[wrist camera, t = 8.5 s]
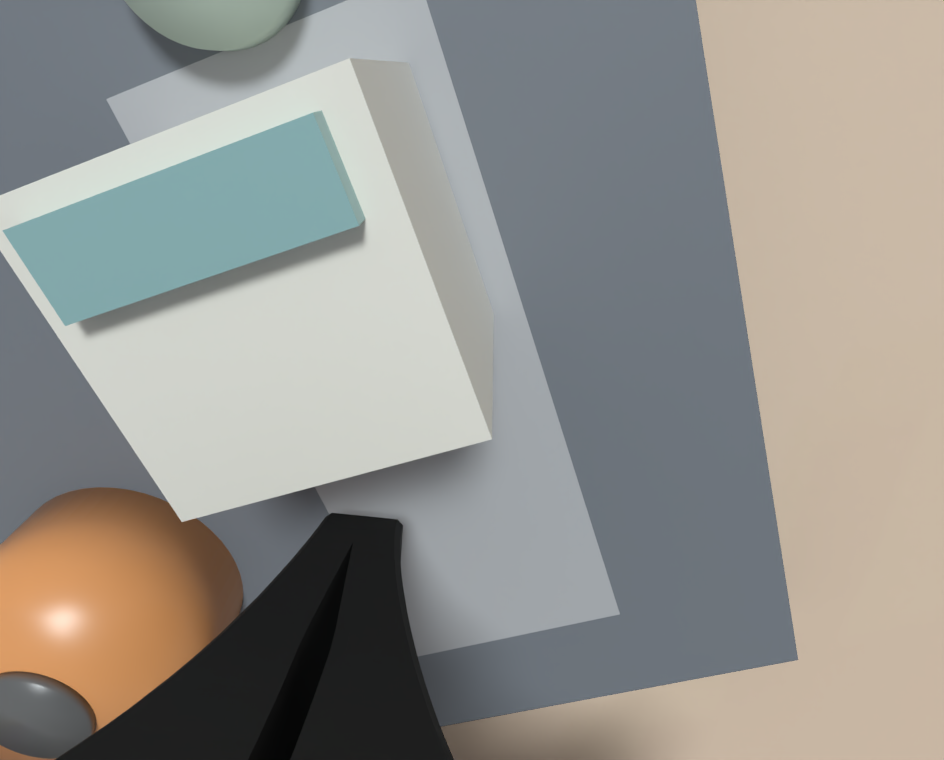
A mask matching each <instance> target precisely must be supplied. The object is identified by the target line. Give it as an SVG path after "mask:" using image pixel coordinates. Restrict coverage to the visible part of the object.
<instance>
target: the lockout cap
mask: <svg viewBox="0 0 944 760" xmlns="http://www.w3.org/2000/svg"><path fill="white" fill-rule="evenodd" d="M242 601H243V584H242V580H241V575H240V572H239V570H238V567H237V565H236V562H235V561H234V559H233V557H232V555H231V554H230V552H229V550H228V549H227V548H226V546H225V545H224V544H223V542H222V541H221V540H220V539H219V538H218V537H217V536H216V535H215V534H214V533H213V532H212V531H211V530H210V529H209V528H208V527H207V526H205V525H204V524H203V523H202V522H201V521H199V520H198V519H196V518H195V519H191V520H188V521H184V522H181V520H180V519H179V517H178V516H177V514H176V513H175V511H174V510H173V508H172V507H171V505H170V504H169V502H166V501H164V500H162V499H160V498H157V497H154V496H151V495H148V494H145V493H141V492H136V491H132V490H127V489H119V488H107V487H95V488H84V489H79V490H74V491H70V492H67V493H64V494H61V495H59V496H56V497H54V498H53V499H51V500H49V501H47V502H46V503H44V504H43V505H42V506H41V507H39V508H38V509H37V510H36V511H35V512H34V513H33V514H32V515H31V516H30V517H29V518H28V519H27V520H26V521H25V522H23V523H22V524H21V525H20V526H19V527H18V528H17V529H16V530H15V531H14V532H13V533H12V534H11V535H10V536H9V537H8V538H7V539H6V540H5V541H4V542H3V543H2V544H1V545H0V760H55V759H56V758H58V757H59V756H61V755H62V754H64V753H65V752H67V751H68V750H70V749H71V748H73V747H74V746H76V745H77V744H79V743H80V742H82V741H83V740H85V739H86V738H88V737H89V736H91V735H92V734H94V733H95V732H97V731H98V730H100V729H101V728H103V727H104V726H105V725H107V724H108V723H110V722H111V721H112V720H114V719H115V718H117V717H118V716H119V715H121V714H122V713H123V712H125V711H126V710H128V709H129V708H130V707H132V706H133V705H134V704H136V703H137V702H138V701H139V700H141V699H142V698H143V697H145V696H146V695H147V694H148V693H150V692H151V691H152V690H154V689H155V688H156V687H157V686H159V685H160V684H161V683H163V682H164V681H165V680H166V679H168V678H169V677H170V676H172V675H173V674H174V673H175V672H176V671H178V670H179V669H180V668H181V667H182V666H184V665H185V664H186V663H187V662H188V661H189V660H191V659H192V658H193V657H194V656H195V655H197V654H198V653H199V652H200V651H201V650H202V649H203V648H204V647H206V646H207V645H208V644H209V643H210V642H211V641H212V640H213V639H214V638H216V637H217V636H218V635H219V634H220V633H221V632H222V631H223V630H224V629H225V628H226V627H227V626H228V625H229V624H230V623H231V622H232V621H233V620H234V619H235V618H236V617H237V616H238V615H239V613H240V610H241V607H242Z"/></svg>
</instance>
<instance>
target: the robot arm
mask: <svg viewBox="0 0 944 760" xmlns="http://www.w3.org/2000/svg"><path fill="white" fill-rule="evenodd" d="M402 533H403V525H402V524H401V522H400V521H399V520H398V519H390V518H380V517H370V516H360V515H350V514H340V513H330V514H329V515H328V516H326V517H325V518H324V520H323V521H322V522H321V524H320V525H319V526H318V528H317V529H316V530H315V531H314V533H313V534H312V535H311V537H310V538H309V539H308V540H307V542H306V543H305V544H304V545H303V546H302V548H301V549H300V550H299V551H298V552H297V553H296V555H295V556H294V557H293V558H292V559H291V561H290V562H289V563H288V564H287V565H286V566H285V567H284V568H283V570H282V571H281V572H280V573H279V574H278V575H277V576H276V577H275V578H274V579H273V580H272V582H271V583H270V584H269V585H268V586H267V587H266V588H265V589H264V590H263V591H262V592H261V594H260V595H259V596H258V597H257V598H256V599H255V600H254V601H253V602H252V603H251V604H250V605H249V606H248V607H247V608H246V609H245V610H244V611H243V612H242V613H240V614H239V615H238V616H237V617H236V618H235V619H234V620H233V621H232V622H231V623H230V624H229V625H228V626H227V627H226V628H225V629H224V630H223V631H222V632H221V633H220V634H219V635H218V636H217V637H216V638H214V639H213V640H212V641H211V642H210V643H209V644H208V645H207V646H206V647H204V648H203V649H202V650H201V651H200V652H199V653H198V654H197V655H195V656H194V657H193V658H192V659H191V660H189V661H188V662H187V663H186V664H185V665H184V666H182V667H181V668H180V669H179V670H178V671H176V672H175V673H174V674H173V675H172V676H170V677H169V678H168V679H166V680H165V681H164V682H163V683H161V684H160V685H159V686H157V687H156V688H155V689H154V690H152V691H151V692H150V693H148V694H147V695H146V696H145V697H143V698H142V699H141V700H139V701H138V702H137V703H136V704H134V705H133V706H132V707H130V708H129V709H128V710H126V711H125V712H123V713H122V714H121V715H119V716H118V717H117V718H115V719H114V720H112V721H111V722H110V723H108V724H107V725H105V726H104V727H103V728H101V729H100V730H98V731H97V732H95V733H94V734H92V735H91V736H89V737H88V738H86V739H85V740H83V741H82V742H80V743H79V744H77V745H76V746H74V747H73V748H71V749H70V750H68V751H67V752H65V753H64V754H62V755H61V756H59V757H58V758H56V759H55V760H454V759H453V757H452V754H451V752H450V750H449V747H448V745H447V742H446V740H445V738H444V735H443V733H442V730H441V727H440V725H439V722H438V719H437V716H436V713H435V711H434V708H433V705H432V702H431V699H430V696H429V693H428V690H427V687H426V684H425V681H424V677H423V674H422V670H421V667H420V663H419V660H418V656H417V652H416V648H415V644H414V640H413V636H412V632H411V628H410V623H409V618H408V613H407V607H406V601H405V595H404V589H403V582H402V574H401V550H402Z"/></svg>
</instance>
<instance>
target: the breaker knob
mask: <svg viewBox="0 0 944 760" xmlns="http://www.w3.org/2000/svg"><path fill="white" fill-rule="evenodd" d="M0 251H1V253H2V254H3V256H4V257H5V259H6V260H7V262H8V263H9V265H10V266H11V268H12V269H13V271H14V272H15V274H16V275H17V276H18V278H19V279H20V281H21V282H22V284H23V285H24V287H25V288H26V290H27V291H28V293H29V294H30V296H31V297H32V299H33V300H34V302H35V303H36V305H37V306H38V308H39V309H40V311H41V312H42V314H43V315H44V317H45V318H46V320H47V321H48V323H49V324H50V326H51V327H52V329H53V330H54V332H55V333H56V335H57V336H58V338H59V339H60V341H61V342H62V344H63V345H64V347H65V348H66V350H67V351H68V353H69V354H70V356H71V357H72V359H73V360H74V362H75V363H76V365H77V366H78V368H79V369H80V371H81V372H82V374H83V375H84V377H85V378H86V380H87V381H88V383H89V384H90V386H91V387H92V389H93V390H94V392H95V393H96V395H97V396H98V398H99V399H100V401H101V402H102V404H103V405H104V407H105V408H106V410H107V411H108V413H109V414H110V416H111V417H112V419H113V420H114V422H115V423H116V424H117V426H118V427H119V429H120V430H121V432H122V433H123V435H124V436H125V438H126V439H127V441H128V442H129V444H130V445H131V447H132V448H133V450H134V451H135V453H136V454H137V456H138V457H139V459H140V460H141V462H142V463H143V465H144V466H145V468H146V469H147V471H148V472H149V474H150V475H151V477H152V478H153V480H154V481H155V483H156V484H157V486H158V487H159V489H160V490H161V492H162V493H163V495H164V496H165V498H166V499H167V501H168V502H169V504H170V505H171V507H172V508H173V510H174V511H175V513H176V514H177V516H178V517H179V519H180V520H181V522H184V521H188V520H191V519H195V518H199V517H203V516H206V515H210V514H214V513H218V512H221V511H225V510H229V509H233V508H236V507H240V506H244V505H248V504H251V503H255V502H259V501H263V500H266V499H270V498H274V497H278V496H281V495H285V494H289V493H293V492H296V491H300V490H304V489H308V488H311V487H315V486H319V485H323V484H326V483H330V482H334V481H338V480H341V479H345V478H349V477H353V476H356V475H360V474H364V473H368V472H371V471H375V470H379V469H383V468H386V467H390V466H394V465H398V464H401V463H405V462H409V461H413V460H416V459H420V458H424V457H428V456H431V455H435V454H439V453H443V452H446V451H450V450H454V449H458V448H461V447H465V446H469V445H473V444H476V443H480V442H484V441H488V440H491V439H492V410H493V330H494V314H493V311H492V308H491V305H490V302H489V299H488V296H487V293H486V290H485V287H484V284H483V281H482V278H481V275H480V272H479V269H478V266H477V263H476V260H475V257H474V254H473V252H472V249H471V246H470V243H469V240H468V237H467V234H466V231H465V228H464V225H463V222H462V219H461V216H460V213H459V210H458V207H457V204H456V201H455V198H454V195H453V192H452V190H451V187H450V184H449V181H448V178H447V175H446V172H445V169H444V166H443V163H442V160H441V157H440V154H439V151H438V148H437V145H436V142H435V139H434V136H433V133H432V130H431V128H430V125H429V122H428V119H427V116H426V113H425V110H424V107H423V104H422V101H421V98H420V95H419V92H418V89H417V86H416V83H415V80H414V77H413V74H412V71H411V68H410V66H409V63H406V62H393V61H380V60H367V59H354V58H349V59H346V60H344V61H341V62H338V63H336V64H333V65H331V66H328V67H326V68H323V69H321V70H318V71H316V72H313V73H310V74H308V75H305V76H303V77H300V78H298V79H295V80H293V81H290V82H287V83H285V84H282V85H280V86H277V87H275V88H272V89H270V90H267V91H265V92H262V93H259V94H257V95H254V96H252V97H249V98H247V99H244V100H242V101H239V102H237V103H234V104H231V105H229V106H226V107H224V108H221V109H219V110H216V111H214V112H211V113H208V114H206V115H203V116H201V117H198V118H196V119H193V120H191V121H188V122H186V123H183V124H180V125H178V126H175V127H173V128H170V129H168V130H165V131H163V132H160V133H158V134H155V135H152V136H150V137H147V138H145V139H142V140H140V141H137V142H135V143H132V144H129V145H127V146H124V147H122V148H119V149H117V150H114V151H112V152H109V153H107V154H104V155H101V156H99V157H96V158H94V159H91V160H89V161H86V162H84V163H81V164H79V165H76V166H73V167H71V168H68V169H66V170H63V171H61V172H58V173H56V174H53V175H50V176H48V177H45V178H43V179H40V180H38V181H35V182H33V183H30V184H28V185H25V186H22V187H20V188H17V189H15V190H12V191H10V192H7V193H5V194H2V195H0Z"/></svg>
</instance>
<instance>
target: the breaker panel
mask: <svg viewBox="0 0 944 760" xmlns="http://www.w3.org/2000/svg"><path fill="white" fill-rule="evenodd" d="M349 58H354V59H367V60H380V61H393V62H406V63H409V66H410V68H411V71H412V74H413V77H414V80H415V83H416V86H417V89H418V92H419V95H420V98H421V101H422V104H423V107H424V110H425V113H426V116H427V119H428V122H429V125H430V128H431V130H432V133H433V136H434V139H435V142H436V145H437V148H438V151H439V154H440V157H441V160H442V163H443V166H444V169H445V172H446V175H447V178H448V181H449V184H450V187H451V190H452V192H453V195H454V198H455V201H456V204H457V207H458V210H459V213H460V216H461V219H462V222H463V225H464V228H465V231H466V234H467V237H468V240H469V243H470V246H471V249H472V252H473V254H474V257H475V260H476V263H477V266H478V269H479V272H480V275H481V278H482V281H483V284H484V287H485V290H486V293H487V296H488V299H489V302H490V305H491V308H492V311H493V314H494V330H493V410H492V439H491V440H488V441H484V442H480V443H476V444H473V445H469V446H465V447H461V448H458V449H454V450H450V451H446V452H443V453H439V454H435V455H431V456H428V457H424V458H420V459H416V460H413V461H409V462H405V463H401V464H398V465H394V466H390V467H386V468H383V469H379V470H375V471H371V472H368V473H364V474H360V475H356V476H353V477H349V478H345V479H341V480H338V481H334V482H330V483H326V484H323V485H319V486H315V487H311V488H308V489H304V490H300V491H296V492H293V493H289V494H285V495H281V496H278V497H274V498H270V499H266V500H263V501H259V502H255V503H251V504H248V505H244V506H240V507H236V508H233V509H229V510H225V511H221V512H218V513H214V514H210V515H206V516H203V517H199V518H196V519H198V520H199V521H201V522H202V523H203V524H204V525H205V526H207V527H208V528H209V529H210V530H211V531H212V532H213V533H214V534H215V535H216V536H217V537H218V538H219V539H220V540H221V541H222V542H223V544H224V545H225V546H226V548H227V549H228V550H229V552H230V554H231V555H232V557H233V559H234V561H235V562H236V565H237V567H238V570H239V572H240V575H241V580H242V584H243V601H242V607H241V610H240V613H242V612H243V611H244V610H245V609H246V608H247V607H248V606H249V605H250V604H251V603H252V602H253V601H254V600H255V599H256V598H257V597H258V596H259V595H260V594H261V592H262V591H263V590H264V589H265V588H266V587H267V586H268V585H269V584H270V583H271V582H272V580H273V579H274V578H275V577H276V576H277V575H278V574H279V573H280V572H281V571H282V570H283V568H284V567H285V566H286V565H287V564H288V563H289V562H290V561H291V559H292V558H293V557H294V556H295V555H296V553H297V552H298V551H299V550H300V549H301V548H302V546H303V545H304V544H305V543H306V542H307V540H308V539H309V538H310V537H311V535H312V534H313V533H314V531H315V530H316V529H317V528H318V526H319V525H320V524H321V522H322V521H323V520H324V518H325V517H326V516H328V515H329V514H330V513H340V514H350V515H360V516H370V517H380V518H390V519H398V520H399V521H400V522H401V524H402V525H403V533H402V550H401V574H402V582H403V589H404V595H405V601H406V607H407V613H408V618H409V623H410V628H411V632H412V636H413V640H414V644H415V648H416V652H417V656H418V660H419V663H420V667H421V670H422V674H423V677H424V681H425V684H426V687H427V690H428V693H429V696H430V699H431V702H432V705H433V708H434V711H435V713H436V716H437V719H438V722H439V725H440V727H441V726H446V725H452V724H457V723H462V722H468V721H473V720H479V719H484V718H489V717H495V716H500V715H505V714H511V713H516V712H521V711H527V710H532V709H537V708H543V707H548V706H553V705H559V704H564V703H570V702H575V701H580V700H586V699H591V698H596V697H602V696H607V695H612V694H618V693H623V692H628V691H634V690H639V689H645V688H650V687H655V686H661V685H666V684H671V683H677V682H682V681H687V680H693V679H698V678H703V677H709V676H714V675H720V674H725V673H730V672H736V671H741V670H746V669H752V668H757V667H762V666H768V665H773V664H778V663H784V662H789V661H795V660H798V657H797V650H796V644H795V637H794V631H793V624H792V618H791V611H790V605H789V599H788V592H787V586H786V579H785V573H784V566H783V560H782V553H781V547H780V541H779V534H778V528H777V521H776V515H775V508H774V502H773V495H772V489H771V483H770V476H769V470H768V463H767V457H766V450H765V444H764V437H763V431H762V425H761V418H760V412H759V405H758V399H757V392H756V386H755V379H754V373H753V367H752V360H751V354H750V347H749V341H748V334H747V328H746V321H745V315H744V309H743V302H742V296H741V289H740V283H739V276H738V270H737V263H736V257H735V251H734V244H733V238H732V231H731V225H730V218H729V212H728V205H727V199H726V193H725V186H724V180H723V173H722V167H721V160H720V154H719V147H718V141H717V135H716V128H715V122H714V115H713V109H712V102H711V96H710V90H709V83H708V77H707V70H706V64H705V57H704V51H703V44H702V38H701V32H700V25H699V19H698V12H697V6H696V0H0V195H2V194H5V193H7V192H10V191H12V190H15V189H17V188H20V187H22V186H25V185H28V184H30V183H33V182H35V181H38V180H40V179H43V178H45V177H48V176H50V175H53V174H56V173H58V172H61V171H63V170H66V169H68V168H71V167H73V166H76V165H79V164H81V163H84V162H86V161H89V160H91V159H94V158H96V157H99V156H101V155H104V154H107V153H109V152H112V151H114V150H117V149H119V148H122V147H124V146H127V145H129V144H132V143H135V142H137V141H140V140H142V139H145V138H147V137H150V136H152V135H155V134H158V133H160V132H163V131H165V130H168V129H170V128H173V127H175V126H178V125H180V124H183V123H186V122H188V121H191V120H193V119H196V118H198V117H201V116H203V115H206V114H208V113H211V112H214V111H216V110H219V109H221V108H224V107H226V106H229V105H231V104H234V103H237V102H239V101H242V100H244V99H247V98H249V97H252V96H254V95H257V94H259V93H262V92H265V91H267V90H270V89H272V88H275V87H277V86H280V85H282V84H285V83H287V82H290V81H293V80H295V79H298V78H300V77H303V76H305V75H308V74H310V73H313V72H316V71H318V70H321V69H323V68H326V67H328V66H331V65H333V64H336V63H338V62H341V61H344V60H346V59H349ZM95 487H107V488H119V489H127V490H132V491H136V492H141V493H145V494H148V495H151V496H154V497H157V498H160V499H162V500H164V501H166V502H168V501H167V499H166V498H165V496H164V495H163V493H162V492H161V490H160V489H159V487H158V486H157V484H156V483H155V481H154V480H153V478H152V477H151V475H150V474H149V472H148V471H147V469H146V468H145V466H144V465H143V463H142V462H141V460H140V459H139V457H138V456H137V454H136V453H135V451H134V450H133V448H132V447H131V445H130V444H129V442H128V441H127V439H126V438H125V436H124V435H123V433H122V432H121V430H120V429H119V427H118V426H117V424H116V423H115V422H114V420H113V419H112V417H111V416H110V414H109V413H108V411H107V410H106V408H105V407H104V405H103V404H102V402H101V401H100V399H99V398H98V396H97V395H96V393H95V392H94V390H93V389H92V387H91V386H90V384H89V383H88V381H87V380H86V378H85V377H84V375H83V374H82V372H81V371H80V369H79V368H78V366H77V365H76V363H75V362H74V360H73V359H72V357H71V356H70V354H69V353H68V351H67V350H66V348H65V347H64V345H63V344H62V342H61V341H60V339H59V338H58V336H57V335H56V333H55V332H54V330H53V329H52V327H51V326H50V324H49V323H48V321H47V320H46V318H45V317H44V315H43V314H42V312H41V311H40V309H39V308H38V306H37V305H36V303H35V302H34V300H33V299H32V297H31V296H30V294H29V293H28V291H27V290H26V288H25V287H24V285H23V284H22V282H21V281H20V279H19V278H18V276H17V275H16V274H15V272H14V271H13V269H12V268H11V266H10V265H9V263H8V262H7V260H6V259H5V257H4V256H3V254H2V253H1V251H0V545H1V544H2V543H3V542H4V541H5V540H6V539H7V538H8V537H9V536H10V535H11V534H12V533H13V532H14V531H15V530H16V529H17V528H18V527H19V526H20V525H21V524H22V523H23V522H25V521H26V520H27V519H28V518H29V517H30V516H31V515H32V514H33V513H34V512H35V511H36V510H37V509H38V508H39V507H41V506H42V505H43V504H44V503H46V502H47V501H49V500H51V499H53V498H54V497H56V496H59V495H61V494H64V493H67V492H70V491H74V490H79V489H84V488H95ZM240 613H239V614H240Z"/></svg>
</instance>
